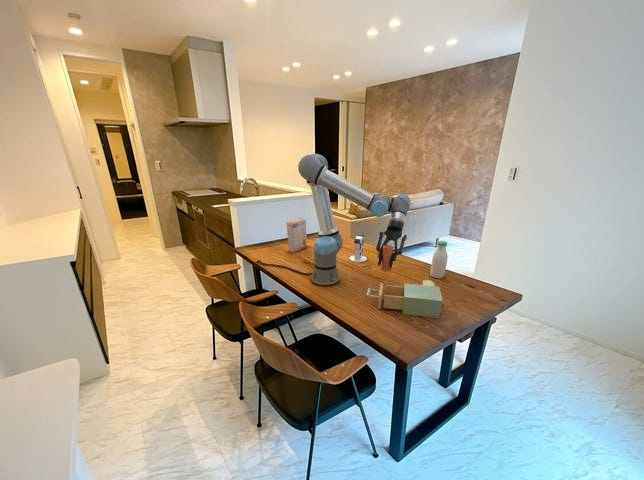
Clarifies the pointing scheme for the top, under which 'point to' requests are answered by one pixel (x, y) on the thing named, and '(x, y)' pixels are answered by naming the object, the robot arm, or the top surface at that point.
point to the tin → (386, 258)
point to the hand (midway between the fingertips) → (384, 265)
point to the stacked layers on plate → (428, 283)
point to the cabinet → (422, 300)
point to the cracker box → (296, 235)
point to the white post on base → (358, 249)
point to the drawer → (389, 296)
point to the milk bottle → (439, 261)
